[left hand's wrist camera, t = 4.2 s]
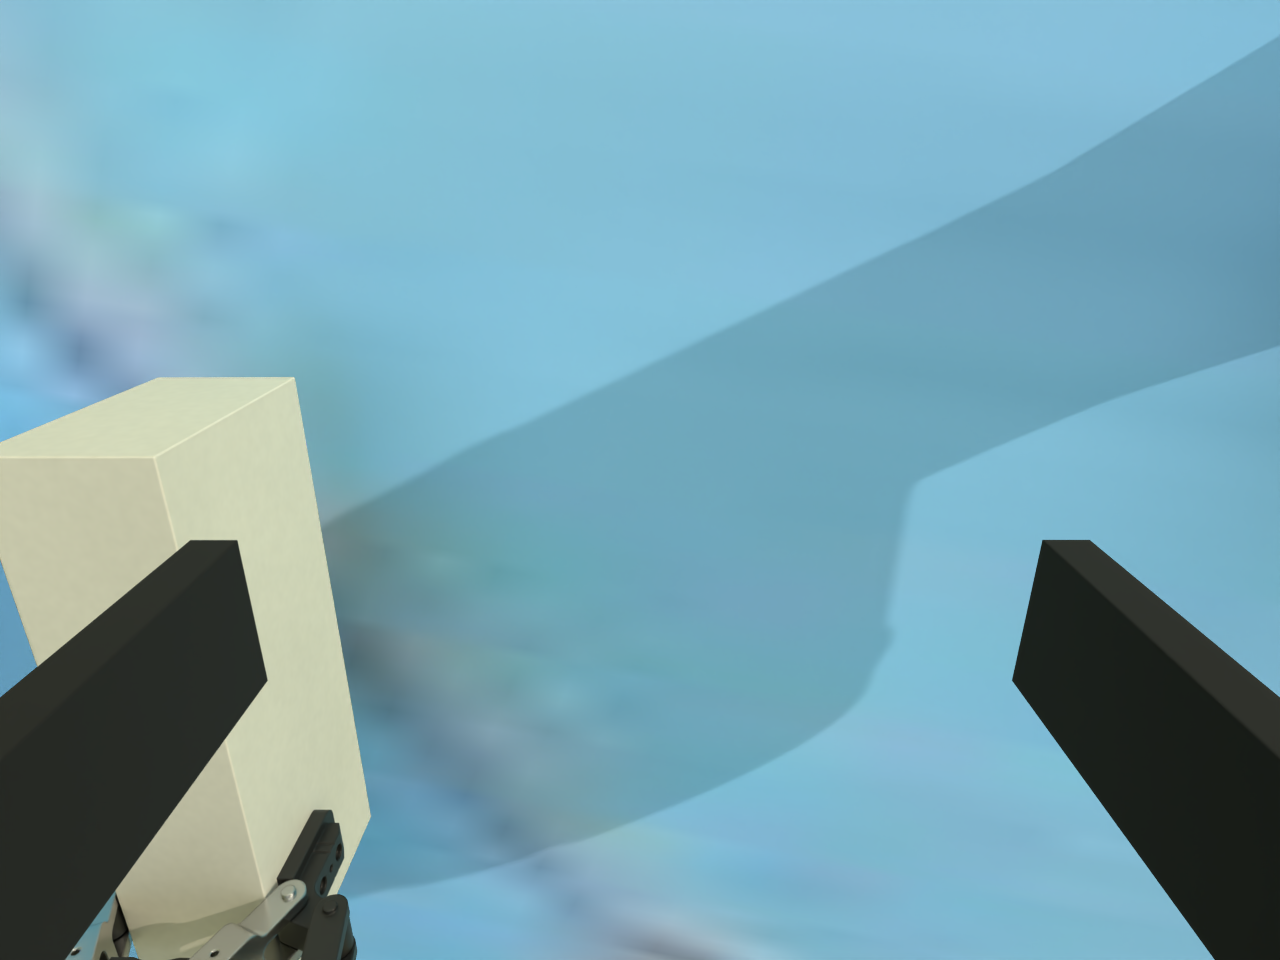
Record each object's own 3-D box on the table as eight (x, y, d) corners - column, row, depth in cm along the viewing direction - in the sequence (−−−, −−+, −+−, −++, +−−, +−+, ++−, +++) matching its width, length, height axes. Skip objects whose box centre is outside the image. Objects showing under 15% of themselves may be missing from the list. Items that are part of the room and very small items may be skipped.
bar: (157, 377, 31) (-37, 456, 22) (295, 376, 31) (154, 456, 22) (262, 815, 39) (151, 998, 30) (371, 816, 39) (290, 1000, 30)
